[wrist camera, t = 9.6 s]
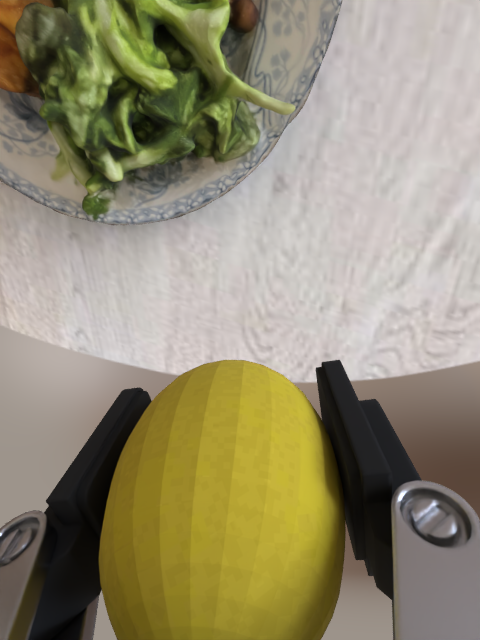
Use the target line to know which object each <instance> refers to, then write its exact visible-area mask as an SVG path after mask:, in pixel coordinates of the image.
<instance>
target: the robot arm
mask: <svg viewBox="0 0 480 640" xmlns="http://www.w3.org/2000/svg"><path fill="white" fill-rule="evenodd" d="M316 375H317V383H318V391H319V399H320V407H321V415H322V422H323V424H324V426H325V428H326V430H327V432H328V435H329V437H330V441H331V444H332V447H333V451H334V454H335V457H336V461H337V464H338V469H339V473H340V477H341V481H342V488H343V495H344V506H345V520H346V524H347V528H348V532H349V536H350V540H351V544H352V548H353V552H354V555H355V559H356V560H364V561H365V565H366V568H367V572H368V575H369V576H374V579H375V583H376V586H377V588H379V589H380V590H381V591H382V592H383V593H384V594H386V595H387V596H388V597H389V598H390V599H391V600H392V617H393V640H480V521H479V519H478V516H477V514H476V513H475V511H474V510H473V509H472V508H471V507H470V505H469V504H468V503H467V502H466V501H465V500H464V499H463V498H461V497H460V496H459V495H457V494H456V493H455V492H453V491H452V490H450V489H448V488H446V487H444V486H442V485H439V484H436V483H433V482H429V481H422V480H421V478H420V477H419V474H418V473H417V471H416V469H415V467H414V465H413V464H412V462H411V460H410V458H409V457H408V455H407V453H406V451H405V449H404V447H403V446H402V444H401V442H400V440H399V438H398V436H397V435H396V433H395V431H394V429H393V427H392V426H391V424H390V422H389V420H388V418H387V417H386V415H385V413H384V411H383V409H382V408H381V406H380V404H379V403H378V401H377V400H376V399H371V400H363V401H359V400H358V398H357V396H356V394H355V391H354V389H353V387H352V385H351V383H350V381H349V378H348V376H347V374H346V372H345V370H344V368H343V365H342V363H341V361H340V360H335V361H328V362H322V367H318V368H316ZM151 402H152V401H151V399H150V396H149V394H148V392H146V391H143V389H141V388H132V389H125V390H123V391H122V392H121V393H120V395H119V396H118V397H117V399H116V400H115V402H114V403H113V405H112V406H111V408H110V409H109V410H108V412H107V413H106V415H105V416H104V418H103V419H102V421H101V422H100V423H99V425H98V426H97V428H96V429H95V431H94V432H93V434H92V435H91V436H90V438H89V439H88V441H87V442H86V444H85V445H84V447H83V448H82V450H81V451H80V452H79V454H78V455H77V457H76V458H75V460H74V461H73V463H72V464H71V465H70V467H69V468H68V470H67V471H66V473H65V474H64V476H63V477H62V478H61V480H60V481H59V483H58V484H57V486H56V487H55V489H54V490H53V491H52V493H51V494H50V496H49V497H48V499H47V500H46V502H47V503H48V505H49V507H48V508H47V509H46V511H45V512H44V513H43V512H42V511H36V510H33V511H29V512H25V513H23V514H21V515H19V516H17V517H15V518H14V519H12V520H11V521H9V522H8V523H6V524H5V525H4V526H3V527H1V528H0V640H93V635H94V628H95V622H96V615H97V608H98V600H99V595H100V592H101V590H102V588H101V584H100V572H99V550H100V538H101V532H102V526H103V520H104V515H105V509H106V504H107V499H108V495H109V491H110V486H111V482H112V479H113V476H114V472H115V469H116V466H117V463H118V461H119V458H120V455H121V453H122V451H123V448H124V446H125V444H126V442H127V440H128V438H129V436H130V435H131V433H132V431H133V429H134V428H135V426H136V424H137V423H138V421H139V420H140V418H141V416H142V415H143V413H144V411H145V410H146V409H147V407H148V406H149V404H150V403H151Z"/></svg>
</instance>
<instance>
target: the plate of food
mask: <svg viewBox="0 0 480 640" xmlns="http://www.w3.org/2000/svg"><path fill="white" fill-rule="evenodd" d="M341 4H342V0H0V180H1V181H2V182H4V183H5V184H7V185H9V186H10V187H12V188H14V189H15V190H17V191H19V192H21V193H22V194H24V195H26V196H27V197H29V198H31V199H32V200H34V201H36V202H38V203H40V204H42V205H45V206H47V207H49V208H51V209H53V210H55V211H57V212H59V213H62V214H65V215H68V216H71V217H75V218H80V219H85V220H88V221H93V222H100V223H105V224H111V225H129V224H146V223H153V222H159V221H165V220H168V219H173V218H177V217H180V216H183V215H185V214H187V213H190V212H193V211H195V210H198V209H200V208H202V207H204V206H206V205H207V204H209V203H211V202H212V201H214V200H216V199H217V198H219V197H221V196H223V195H224V194H226V193H227V192H229V191H230V190H231V189H232V188H234V187H235V186H236V185H237V184H239V183H240V182H241V181H242V180H244V179H245V178H246V177H247V176H248V175H249V174H250V173H251V172H252V171H253V170H255V169H256V168H257V167H258V166H259V164H260V163H261V162H262V161H263V160H264V159H265V158H266V157H267V156H268V154H269V153H270V152H271V151H272V149H273V148H274V146H275V145H276V143H277V141H278V140H279V138H280V136H281V134H282V132H283V131H284V129H285V127H286V126H287V125H288V124H289V123H290V122H291V121H292V120H293V119H294V118H295V117H296V116H297V114H298V113H299V112H300V110H301V109H302V107H303V106H304V104H305V102H306V100H307V98H308V96H309V93H310V91H311V88H312V86H313V83H314V81H315V78H316V76H317V73H318V71H319V68H320V66H321V63H322V60H323V58H324V56H325V53H326V51H327V49H328V46H329V43H330V40H331V37H332V34H333V30H334V27H335V24H336V21H337V18H338V15H339V11H340V7H341Z"/></svg>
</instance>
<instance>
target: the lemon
mask: <svg viewBox="0 0 480 640" xmlns="http://www.w3.org/2000/svg"><path fill="white" fill-rule="evenodd" d="M344 552H345V506H344V495H343V488H342V481H341V477H340V473H339V469H338V464H337V461H336V457H335V454H334V451H333V447H332V444H331V441H330V437H329V435H328V432H327V430H326V428H325V426H324V424H323V422H322V420H321V418H320V416H319V415H318V414H317V412H316V410H315V409H314V408H313V406H312V405H311V403H310V402H309V400H308V399H307V397H306V396H305V395H304V393H303V392H302V391H301V390H300V389H299V388H298V387H296V386H295V385H294V384H293V383H292V382H291V381H289V380H288V379H287V378H286V377H285V376H283V375H282V374H280V373H278V372H276V371H274V370H272V369H270V368H268V367H266V366H264V365H261V364H257V363H253V362H249V361H245V360H222V361H217V362H212V363H207V364H203V365H201V366H198V367H196V368H194V369H192V370H190V371H188V372H185V373H184V374H182V375H180V376H179V377H178V378H176V379H175V380H174V381H173V382H172V383H171V384H169V385H168V386H167V387H166V388H165V389H164V390H162V391H161V392H160V393H159V394H158V395H157V396H156V397H155V398H154V400H153V401H152V402H151V403H150V404H149V406H148V407H147V409H146V410H145V411H144V413H143V415H142V416H141V418H140V420H139V421H138V423H137V424H136V426H135V428H134V429H133V431H132V433H131V435H130V436H129V438H128V440H127V442H126V444H125V446H124V448H123V451H122V453H121V455H120V458H119V461H118V463H117V466H116V469H115V472H114V476H113V479H112V482H111V486H110V491H109V495H108V499H107V504H106V509H105V515H104V520H103V526H102V532H101V538H100V550H99V572H100V584H101V588H102V593H103V597H104V600H105V605H106V608H107V613H108V616H109V619H110V622H111V625H112V627H113V630H114V632H115V635H116V637H117V640H321V638H322V637H323V635H324V632H325V631H326V629H327V627H328V624H329V622H330V621H331V619H332V616H333V613H334V610H335V607H336V603H337V600H338V597H339V593H340V586H341V580H342V572H343V563H344Z"/></svg>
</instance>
